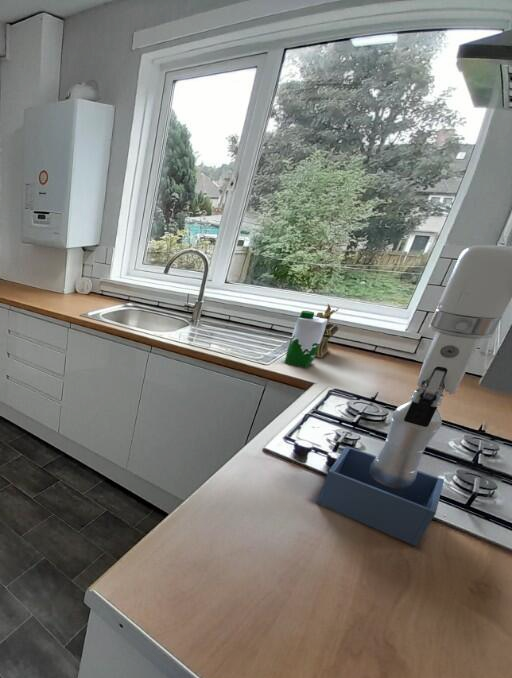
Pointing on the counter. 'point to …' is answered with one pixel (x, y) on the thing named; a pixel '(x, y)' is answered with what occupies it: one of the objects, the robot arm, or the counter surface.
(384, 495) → the tote
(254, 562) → the counter surface
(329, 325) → the brown figurine
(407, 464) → the plastic bottle
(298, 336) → the milk carton
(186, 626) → the counter surface
